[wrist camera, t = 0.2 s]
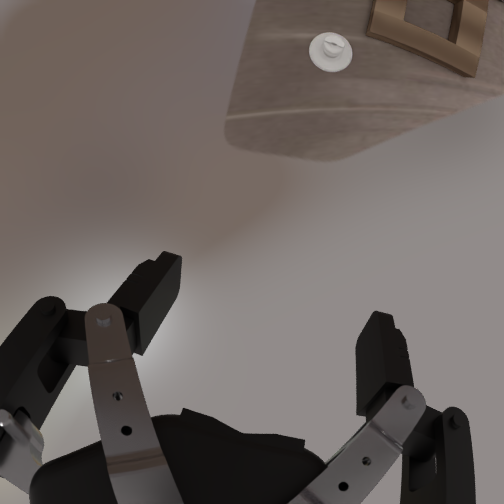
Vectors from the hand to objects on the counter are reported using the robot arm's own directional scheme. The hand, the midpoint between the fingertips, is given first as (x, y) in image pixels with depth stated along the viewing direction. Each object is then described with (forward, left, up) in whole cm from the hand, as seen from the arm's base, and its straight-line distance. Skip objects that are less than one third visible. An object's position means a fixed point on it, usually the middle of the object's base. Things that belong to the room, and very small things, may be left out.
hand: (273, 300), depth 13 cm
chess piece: (-12, 0, -28) cm, 31 cm away
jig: (-22, +10, -28) cm, 37 cm away
